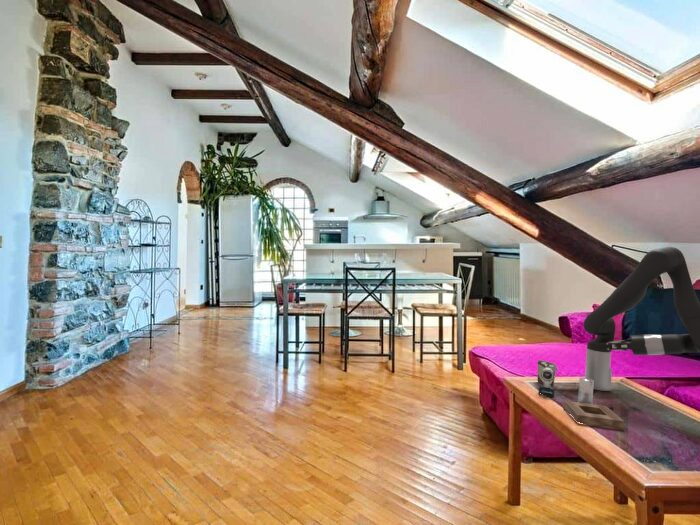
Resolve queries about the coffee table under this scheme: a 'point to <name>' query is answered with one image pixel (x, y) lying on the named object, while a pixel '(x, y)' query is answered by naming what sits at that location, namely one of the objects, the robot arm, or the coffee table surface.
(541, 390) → the watch
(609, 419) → the walnut socket block
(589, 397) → the ribbed metal cylinder
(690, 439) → the coffee table surface
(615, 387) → the coffee table surface
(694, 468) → the coffee table surface
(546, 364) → the food container
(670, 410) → the coffee table surface
